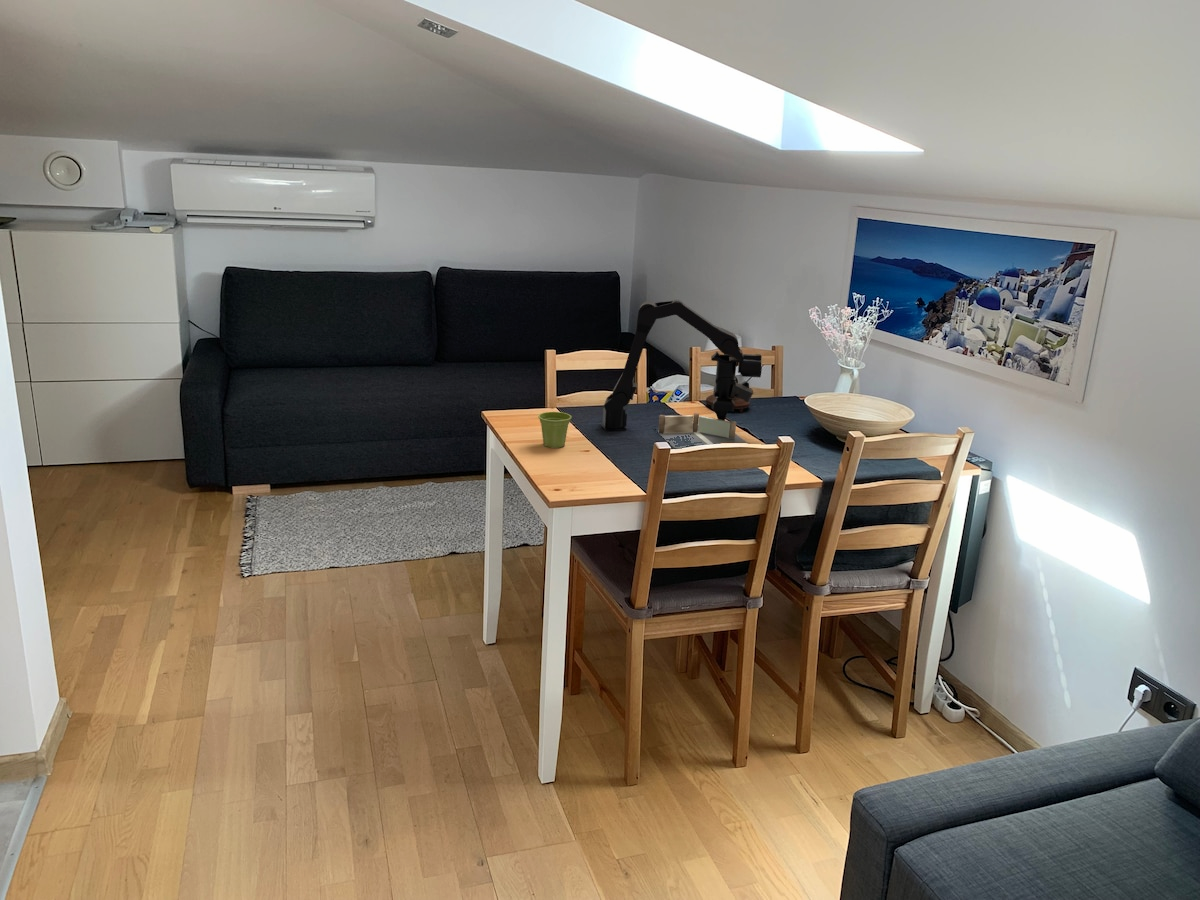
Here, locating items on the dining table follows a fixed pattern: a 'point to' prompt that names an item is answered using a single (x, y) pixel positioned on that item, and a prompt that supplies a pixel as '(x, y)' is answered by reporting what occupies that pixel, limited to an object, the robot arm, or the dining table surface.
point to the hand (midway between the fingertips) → (721, 425)
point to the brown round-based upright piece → (738, 402)
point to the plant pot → (554, 428)
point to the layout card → (701, 438)
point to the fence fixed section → (678, 423)
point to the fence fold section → (717, 427)
